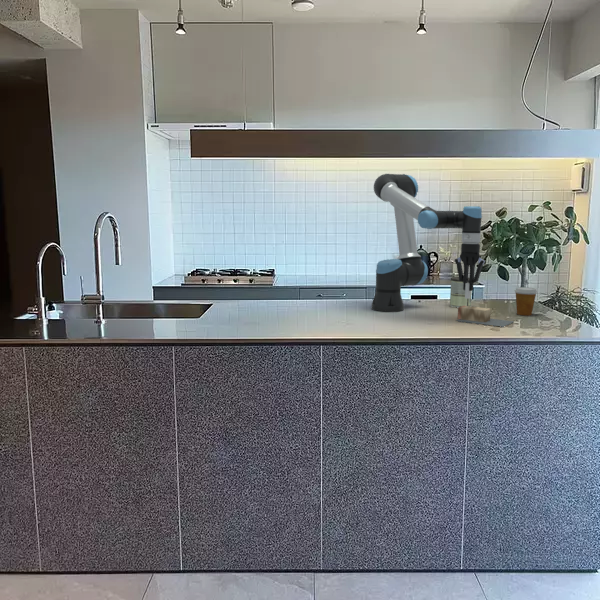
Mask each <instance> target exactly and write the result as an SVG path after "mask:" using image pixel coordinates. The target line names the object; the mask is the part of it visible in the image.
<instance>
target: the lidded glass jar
mask: <svg viewBox="0 0 600 600" xmlns="http://www.w3.org/2000/svg"><path fill="white" fill-rule="evenodd" d="M468 281H469V276H468ZM468 283H469V282H468ZM463 284H464V283H463V282H462V281H459V276H452V277H450V296H449V297H450V298H449V307H450V306H451V308H454V307H457V308H456V309H458V307H461V306H471V307H472V296H473V294H472V293H473V292H472V291H471V298H469V299H466V298H465V290H463Z"/></svg>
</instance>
